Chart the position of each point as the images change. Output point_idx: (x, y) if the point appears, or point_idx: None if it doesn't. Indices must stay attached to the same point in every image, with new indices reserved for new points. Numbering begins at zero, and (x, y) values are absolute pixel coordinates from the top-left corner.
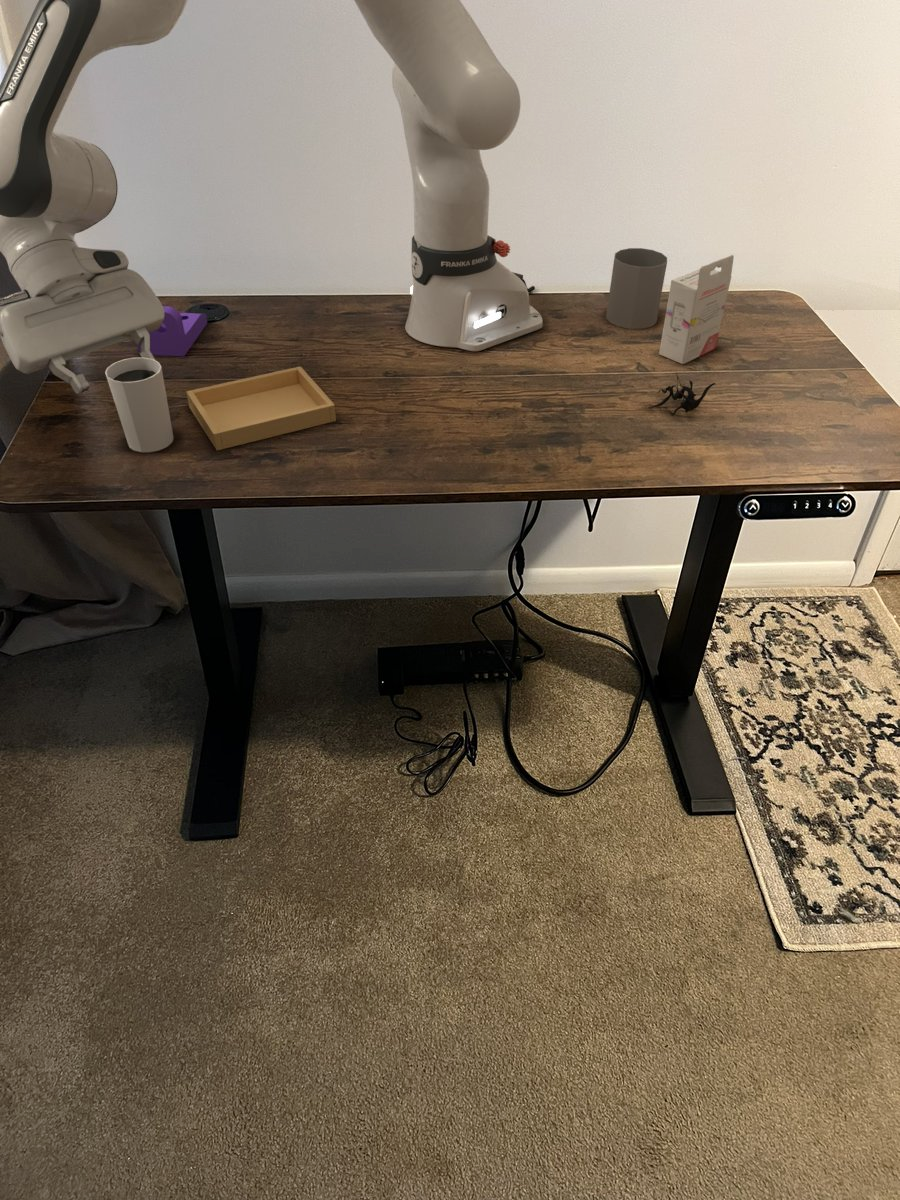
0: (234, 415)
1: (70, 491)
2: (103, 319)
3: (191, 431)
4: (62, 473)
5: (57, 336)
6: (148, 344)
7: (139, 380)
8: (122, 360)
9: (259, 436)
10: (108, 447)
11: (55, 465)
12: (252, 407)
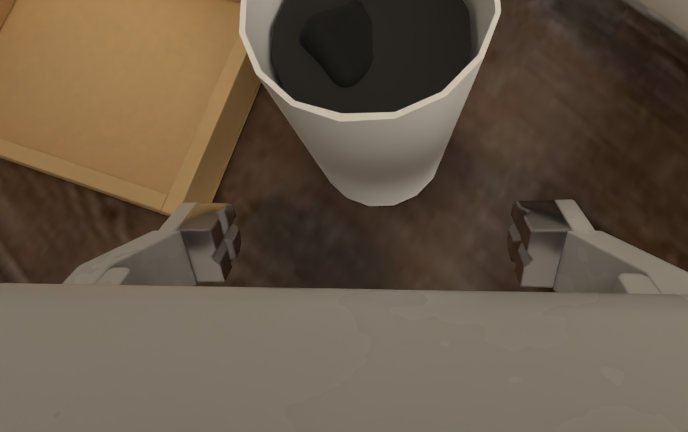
0: (159, 100)
1: (667, 74)
2: (215, 377)
3: (278, 118)
4: (650, 164)
5: (685, 380)
6: (135, 243)
7: (363, 13)
8: (347, 116)
9: None
10: (484, 197)
11: (650, 215)
12: (104, 103)
